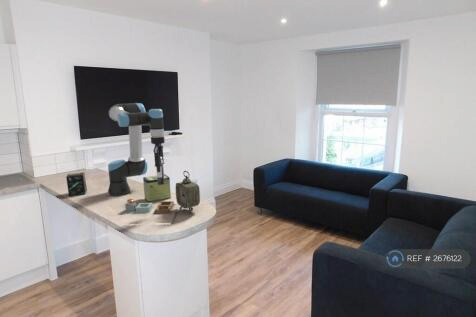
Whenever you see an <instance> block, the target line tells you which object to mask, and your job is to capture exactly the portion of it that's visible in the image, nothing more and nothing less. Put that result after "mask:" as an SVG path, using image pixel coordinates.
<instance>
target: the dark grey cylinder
mask: <svg viewBox="0 0 476 317" xmlns="http://www.w3.org/2000/svg"><path fill="white" fill-rule="evenodd" d="M160 159H161V169H162V177H157V183H158V185H163V184H165V183H164V174H165V173H164V172H165V171H164V164H163V163H164V162H163V160H162V157H160Z"/></svg>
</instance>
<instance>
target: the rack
mask: <svg viewBox="0 0 476 317" xmlns="http://www.w3.org/2000/svg"><path fill="white" fill-rule="evenodd" d="M174 202H175V201H174V200H169V201H160V202H159V203H158V204H157V206H156V207H155V209H154V212H153V215H159V214H160V215H162V214H163V215H164V214H167V215H168V214H171V213H172V212H173V209H174V207H175V206H176V204H175V203H174Z"/></svg>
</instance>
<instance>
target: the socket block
mask: <svg viewBox="0 0 476 317" xmlns="http://www.w3.org/2000/svg"><path fill="white" fill-rule="evenodd" d="M154 208H155V205H153V202H139V203H138V204H137V202H135V201H134V202H133V205H128V203H127V202H126V204H125V212H124V215H136V214H137V215H139V214H142V215H143V214H147V215H148V214H151V213H152V210H153V209H154Z"/></svg>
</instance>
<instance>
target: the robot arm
mask: <svg viewBox="0 0 476 317" xmlns="http://www.w3.org/2000/svg"><path fill="white" fill-rule="evenodd" d="M108 116H109V118H110V119H111V120H113V121H115V122H117V124H118V127H119V128H127V127H128V134H129V135H128V140H129V141H128V142H129V143H128V144H129V156H128V157H127V161H126V160H125V159H116V160H112V161H110V162H109V163H108V165H107V168H108V169H107V171H108V177H109V186H108V189H107V193H108V196H109V195H110V196H123V195H126V194H129V193H131V187H130V185H129V183H128V180H127V178H131V177H137V176H138V177H140V176H143V175H145V174H146V173H147V172H148V161H147V159H146V158H145V157H144V155H143V136H142V135H143V134H142V132H143V129H142V126H149V133H150V143H151V144H152V145H154V147H153V156H154V167H155V168H156V170H155V171H156V176H157V177H162V169H161V159H160V157H162V160H163V165H164V164H165V161H164V145H162V144H165V142H166V141H165V129H164V128H165V127H164V114H163V109H161V108H151V109H149V110H148V111H146V108H145V106H144V104H143V103H140V102H139V103H138V102H132V103H130V102H129V103H117V104H114V105H113V106H111V107H110V108H109V110H108Z"/></svg>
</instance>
